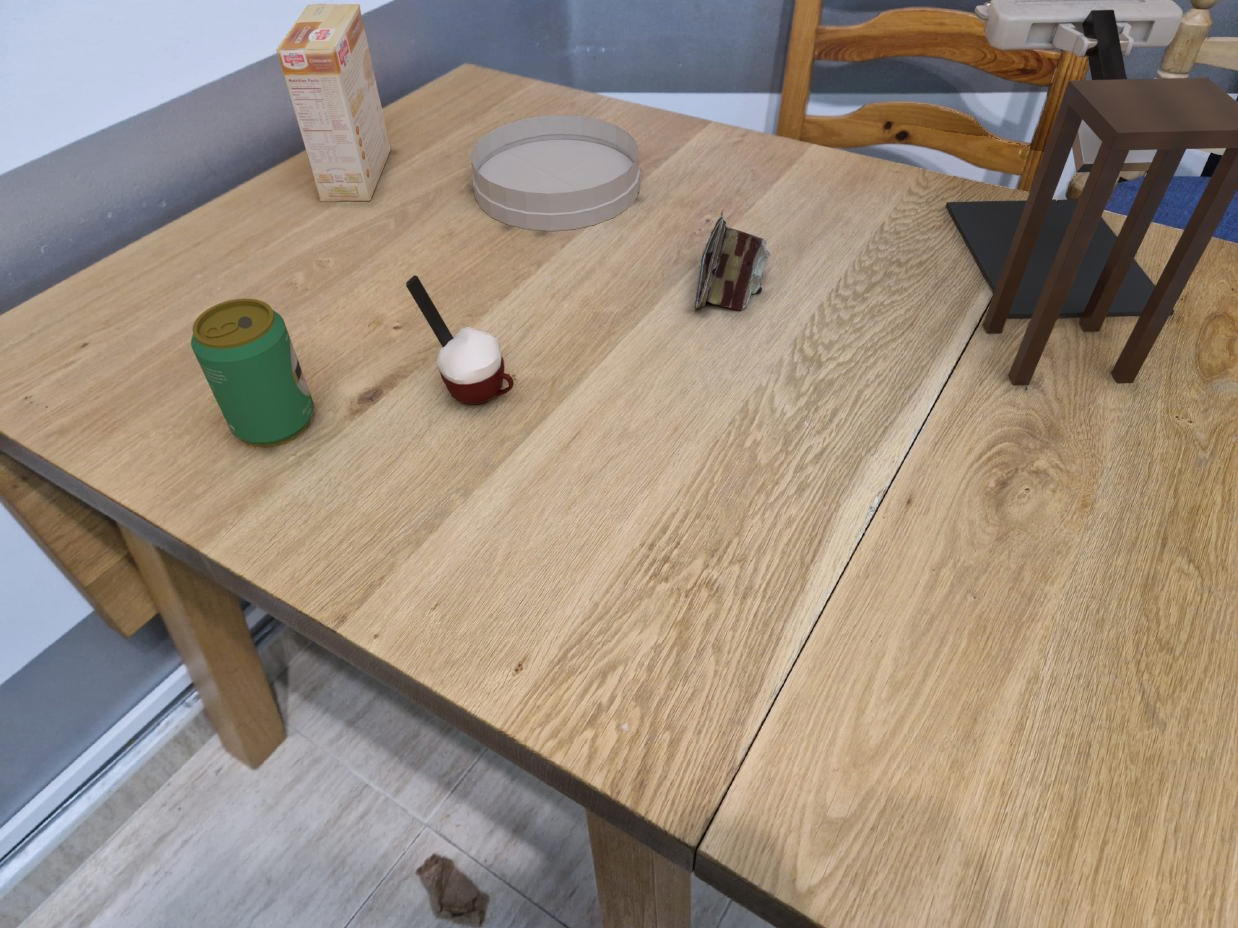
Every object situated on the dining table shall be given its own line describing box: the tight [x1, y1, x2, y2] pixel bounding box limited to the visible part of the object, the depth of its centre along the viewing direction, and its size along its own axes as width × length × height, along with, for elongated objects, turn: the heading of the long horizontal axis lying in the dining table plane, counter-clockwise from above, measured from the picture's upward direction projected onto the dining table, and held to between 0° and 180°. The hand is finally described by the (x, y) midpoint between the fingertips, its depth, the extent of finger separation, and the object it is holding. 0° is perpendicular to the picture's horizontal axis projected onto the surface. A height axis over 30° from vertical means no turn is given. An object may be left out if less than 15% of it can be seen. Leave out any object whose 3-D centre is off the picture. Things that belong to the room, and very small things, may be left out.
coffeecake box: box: [275, 3, 392, 202], centre depth 112 cm, size 15×7×20 cm, turn 0°
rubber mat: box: [945, 198, 1175, 319], centre depth 102 cm, size 18×24×1 cm
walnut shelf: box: [982, 77, 1238, 386], centre depth 80 cm, size 12×10×26 cm
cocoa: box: [405, 274, 515, 405], centre depth 82 cm, size 10×6×12 cm, turn 40°
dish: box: [470, 114, 641, 232], centre depth 113 cm, size 22×22×5 cm
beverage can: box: [190, 298, 315, 448], centre depth 80 cm, size 8×8×12 cm
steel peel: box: [1071, 10, 1157, 173], centre depth 90 cm, size 9×18×2 cm, turn 1°
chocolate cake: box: [693, 210, 771, 311], centre depth 98 cm, size 10×7×12 cm
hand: (1106, 49), depth 91 cm, fingers closed on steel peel, 2 cm apart
